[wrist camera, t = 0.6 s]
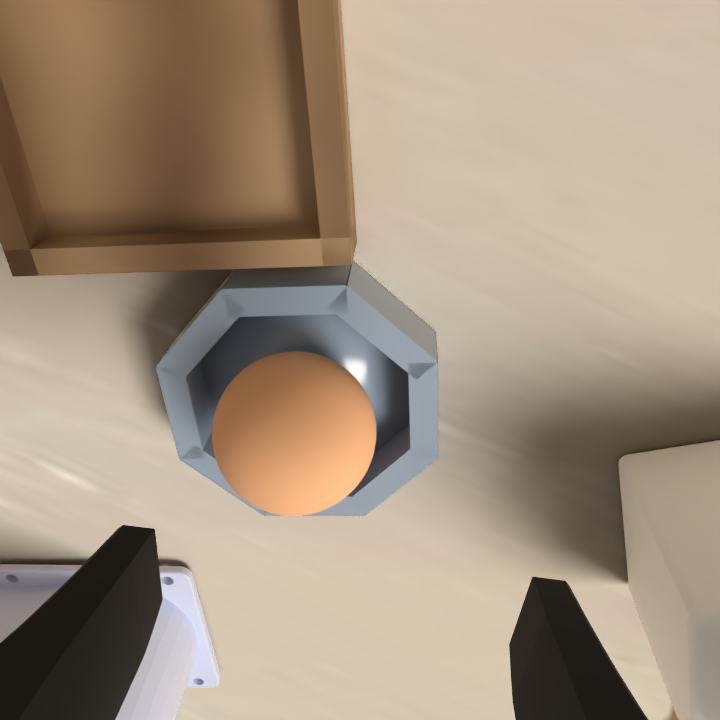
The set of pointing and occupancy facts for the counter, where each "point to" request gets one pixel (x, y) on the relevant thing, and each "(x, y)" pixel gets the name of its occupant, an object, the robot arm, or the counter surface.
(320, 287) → the ramekin
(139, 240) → the tray
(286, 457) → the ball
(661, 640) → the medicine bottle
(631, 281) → the counter surface
